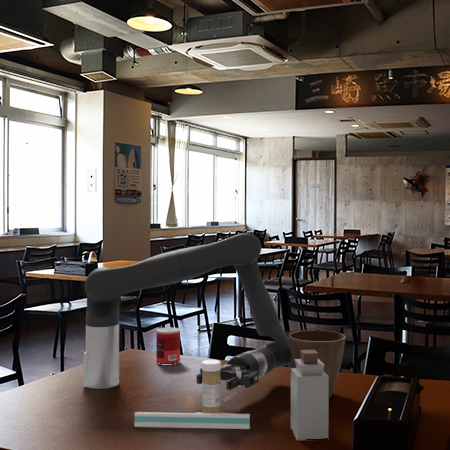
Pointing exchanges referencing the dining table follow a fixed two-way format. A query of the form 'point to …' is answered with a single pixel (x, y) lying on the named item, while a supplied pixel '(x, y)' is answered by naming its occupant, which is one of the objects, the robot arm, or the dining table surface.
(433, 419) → the dining table surface
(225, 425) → the rail
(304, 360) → the perfume bottle
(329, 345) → the plant pot
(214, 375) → the sprinkles bottle
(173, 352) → the canned food
